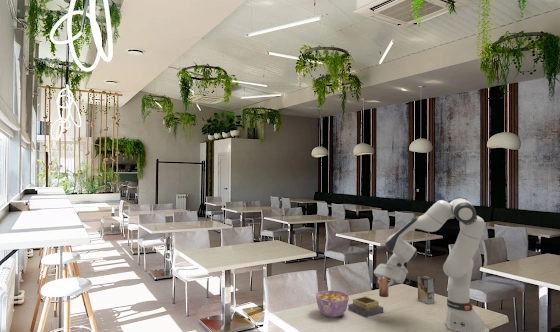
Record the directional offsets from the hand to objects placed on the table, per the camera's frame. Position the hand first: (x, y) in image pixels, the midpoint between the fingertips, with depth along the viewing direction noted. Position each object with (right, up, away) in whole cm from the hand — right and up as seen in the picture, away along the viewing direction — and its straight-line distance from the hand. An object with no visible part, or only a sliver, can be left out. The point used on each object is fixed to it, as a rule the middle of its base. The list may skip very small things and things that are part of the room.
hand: (383, 284), depth 223 cm
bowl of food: (-29, -21, +8) cm, 36 cm away
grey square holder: (-7, -21, +15) cm, 26 cm away
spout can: (+1, -6, 0) cm, 6 cm away
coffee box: (+37, -21, +33) cm, 54 cm away
